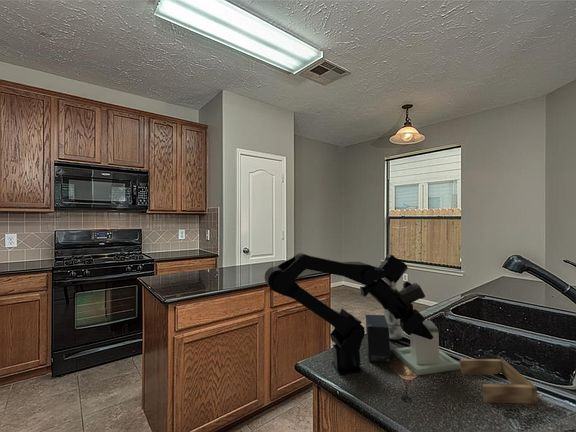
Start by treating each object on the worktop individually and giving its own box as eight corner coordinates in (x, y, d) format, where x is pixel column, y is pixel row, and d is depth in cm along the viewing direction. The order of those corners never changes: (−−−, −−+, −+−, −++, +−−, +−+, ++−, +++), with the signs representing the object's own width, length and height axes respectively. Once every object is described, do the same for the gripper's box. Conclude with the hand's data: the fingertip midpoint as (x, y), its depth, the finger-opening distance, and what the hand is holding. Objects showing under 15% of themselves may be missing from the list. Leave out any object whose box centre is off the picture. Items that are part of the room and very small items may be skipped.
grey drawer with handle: (416, 364, 82) (415, 326, 82) (410, 353, 88) (409, 318, 88) (439, 364, 81) (438, 326, 81) (432, 354, 87) (430, 318, 87)
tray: (417, 375, 78) (417, 369, 78) (393, 354, 90) (393, 349, 90) (459, 368, 80) (459, 363, 80) (430, 348, 92) (430, 343, 92)
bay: (485, 402, 66) (484, 386, 66) (460, 372, 78) (459, 358, 78) (537, 403, 64) (536, 387, 64) (504, 372, 77) (503, 359, 77)
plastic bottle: (398, 344, 96) (395, 282, 96) (379, 338, 101) (376, 280, 101) (407, 337, 101) (404, 278, 101) (389, 332, 106) (386, 276, 106)
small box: (392, 363, 85) (389, 326, 85) (368, 362, 86) (366, 326, 86) (387, 346, 95) (385, 314, 95) (366, 346, 96) (364, 314, 96)
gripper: (414, 282, 76) (462, 325, 74) (397, 269, 94) (436, 303, 93) (384, 313, 77) (431, 356, 76) (373, 294, 96) (411, 328, 94)
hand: (427, 333), depth 85 cm, fingers open, 7 cm apart
